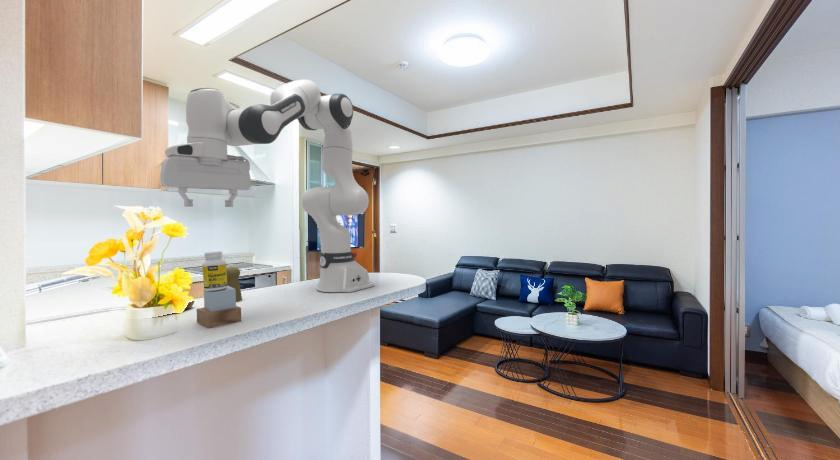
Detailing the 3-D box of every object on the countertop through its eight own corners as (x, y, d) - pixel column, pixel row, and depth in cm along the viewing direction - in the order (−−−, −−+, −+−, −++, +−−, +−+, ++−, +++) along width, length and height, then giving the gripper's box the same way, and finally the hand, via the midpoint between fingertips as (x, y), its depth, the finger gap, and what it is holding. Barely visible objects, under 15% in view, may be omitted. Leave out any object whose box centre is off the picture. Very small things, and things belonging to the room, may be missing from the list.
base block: (228, 317, 101) (228, 303, 101) (241, 322, 96) (241, 307, 95) (197, 323, 95) (196, 308, 94) (208, 329, 89) (208, 314, 89)
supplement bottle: (207, 292, 90) (203, 253, 90) (201, 290, 94) (198, 253, 94) (230, 288, 94) (227, 251, 94) (224, 286, 98) (221, 250, 98)
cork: (246, 298, 121) (245, 266, 121) (235, 303, 115) (234, 269, 115) (229, 298, 122) (228, 266, 122) (217, 302, 116) (216, 269, 116)
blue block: (228, 303, 100) (228, 285, 99) (236, 307, 95) (235, 288, 95) (204, 307, 95) (203, 289, 95) (210, 312, 91) (210, 292, 91)
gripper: (244, 158, 102) (246, 207, 102) (157, 149, 87) (159, 206, 87) (254, 155, 97) (255, 207, 98) (163, 145, 82) (166, 206, 83)
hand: (209, 206), depth 92 cm, fingers open, 8 cm apart
